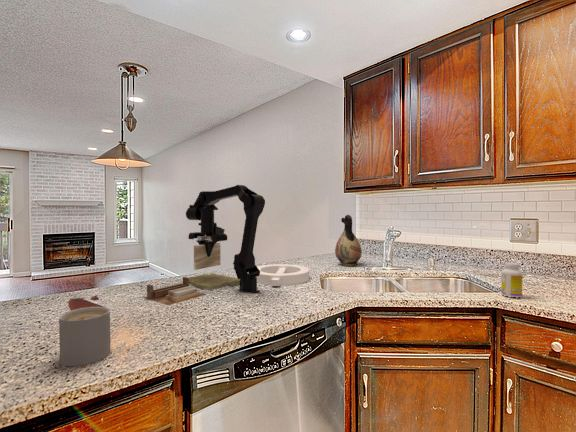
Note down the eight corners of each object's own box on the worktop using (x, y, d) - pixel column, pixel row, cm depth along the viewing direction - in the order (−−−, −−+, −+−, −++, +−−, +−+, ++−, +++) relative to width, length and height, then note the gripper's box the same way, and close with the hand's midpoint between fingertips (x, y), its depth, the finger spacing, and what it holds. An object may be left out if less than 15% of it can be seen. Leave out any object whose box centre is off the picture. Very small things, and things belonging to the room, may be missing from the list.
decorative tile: (212, 279, 157) (212, 272, 157) (242, 285, 145) (242, 277, 145) (179, 287, 142) (179, 278, 142) (208, 294, 130) (208, 285, 130)
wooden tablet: (67, 302, 119) (67, 298, 119) (99, 298, 125) (99, 293, 125) (73, 323, 98) (72, 318, 98) (110, 316, 104) (110, 311, 104)
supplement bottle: (525, 297, 125) (526, 263, 124) (516, 299, 121) (517, 265, 121) (506, 293, 130) (507, 261, 130) (497, 295, 127) (498, 262, 127)
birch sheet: (220, 264, 147) (220, 242, 147) (195, 269, 135) (195, 245, 135) (218, 264, 148) (218, 242, 147) (193, 269, 136) (193, 245, 136)
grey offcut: (197, 292, 122) (197, 288, 122) (177, 297, 115) (177, 293, 115) (188, 290, 125) (188, 286, 125) (168, 295, 118) (168, 291, 118)
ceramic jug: (332, 262, 200) (332, 214, 199) (356, 262, 201) (356, 214, 201) (339, 268, 183) (339, 215, 182) (366, 267, 185) (366, 214, 184)
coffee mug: (105, 362, 72) (104, 318, 72) (52, 369, 69) (51, 322, 69) (117, 339, 85) (116, 301, 85) (73, 344, 82) (72, 304, 82)
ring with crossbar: (274, 289, 137) (274, 278, 137) (240, 278, 159) (240, 268, 159) (321, 280, 155) (321, 270, 154) (285, 271, 176) (285, 262, 176)
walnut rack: (207, 296, 125) (207, 281, 125) (168, 308, 111) (168, 290, 111) (181, 290, 134) (180, 276, 134) (142, 300, 120) (142, 284, 120)
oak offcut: (199, 296, 122) (199, 292, 122) (176, 302, 114) (176, 298, 114) (188, 293, 126) (188, 289, 126) (166, 299, 117) (166, 295, 117)
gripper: (236, 220, 142) (236, 255, 143) (206, 219, 153) (207, 252, 153) (217, 221, 133) (217, 259, 134) (187, 220, 144) (187, 255, 144)
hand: (207, 256), depth 141 cm, fingers closed on birch sheet, 1 cm apart
